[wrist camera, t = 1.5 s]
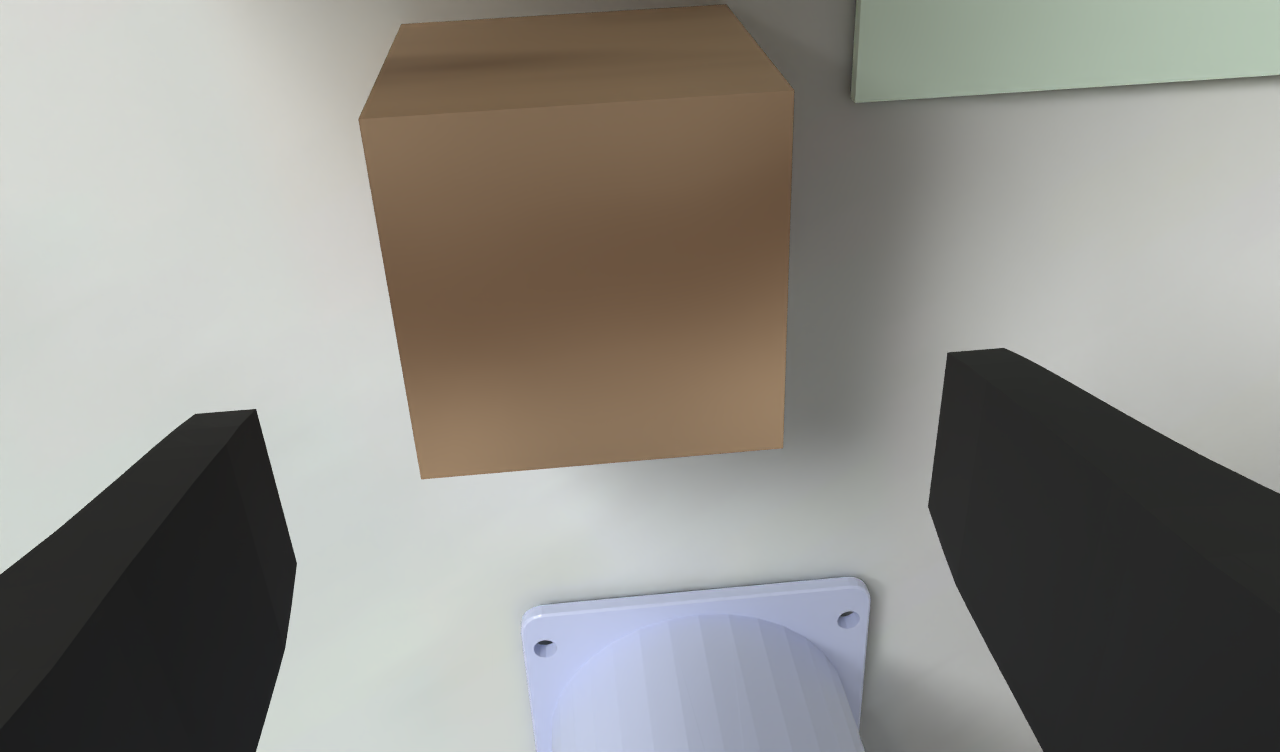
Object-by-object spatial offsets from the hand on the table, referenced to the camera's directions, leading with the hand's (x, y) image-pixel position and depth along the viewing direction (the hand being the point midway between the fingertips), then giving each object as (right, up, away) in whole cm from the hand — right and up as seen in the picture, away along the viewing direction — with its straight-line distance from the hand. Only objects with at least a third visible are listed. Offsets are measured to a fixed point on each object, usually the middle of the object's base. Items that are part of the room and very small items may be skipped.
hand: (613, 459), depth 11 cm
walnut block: (-1, +5, +8) cm, 10 cm away
